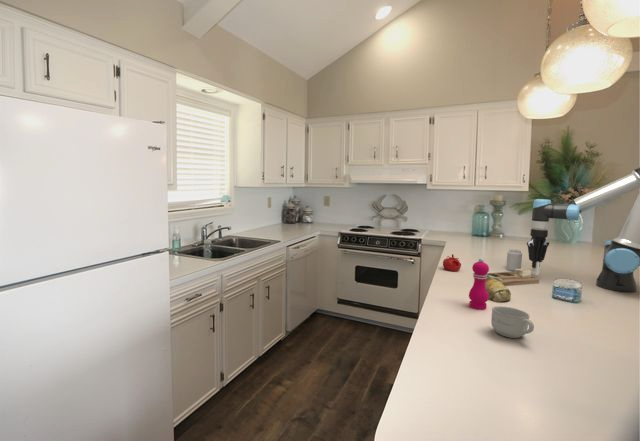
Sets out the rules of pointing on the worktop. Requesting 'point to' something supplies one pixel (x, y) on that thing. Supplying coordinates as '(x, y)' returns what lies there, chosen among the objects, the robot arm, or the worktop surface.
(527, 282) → the board
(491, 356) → the worktop surface
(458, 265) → the pomegranate
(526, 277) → the birch block
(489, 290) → the pastry
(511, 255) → the can
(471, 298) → the pepper mill
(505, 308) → the teacup
